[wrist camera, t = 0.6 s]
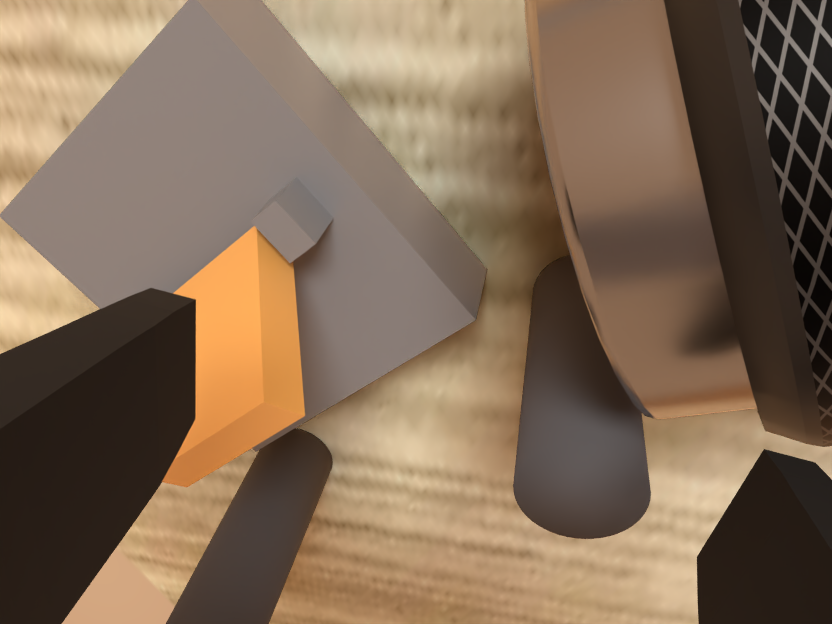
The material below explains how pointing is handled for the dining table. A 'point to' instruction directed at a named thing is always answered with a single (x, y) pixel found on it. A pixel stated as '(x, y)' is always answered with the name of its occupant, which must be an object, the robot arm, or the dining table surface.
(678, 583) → the dining table surface
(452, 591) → the dining table surface
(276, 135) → the switch box
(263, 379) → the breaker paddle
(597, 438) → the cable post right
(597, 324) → the muzzle brake
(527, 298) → the dining table surface
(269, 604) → the cylinder
